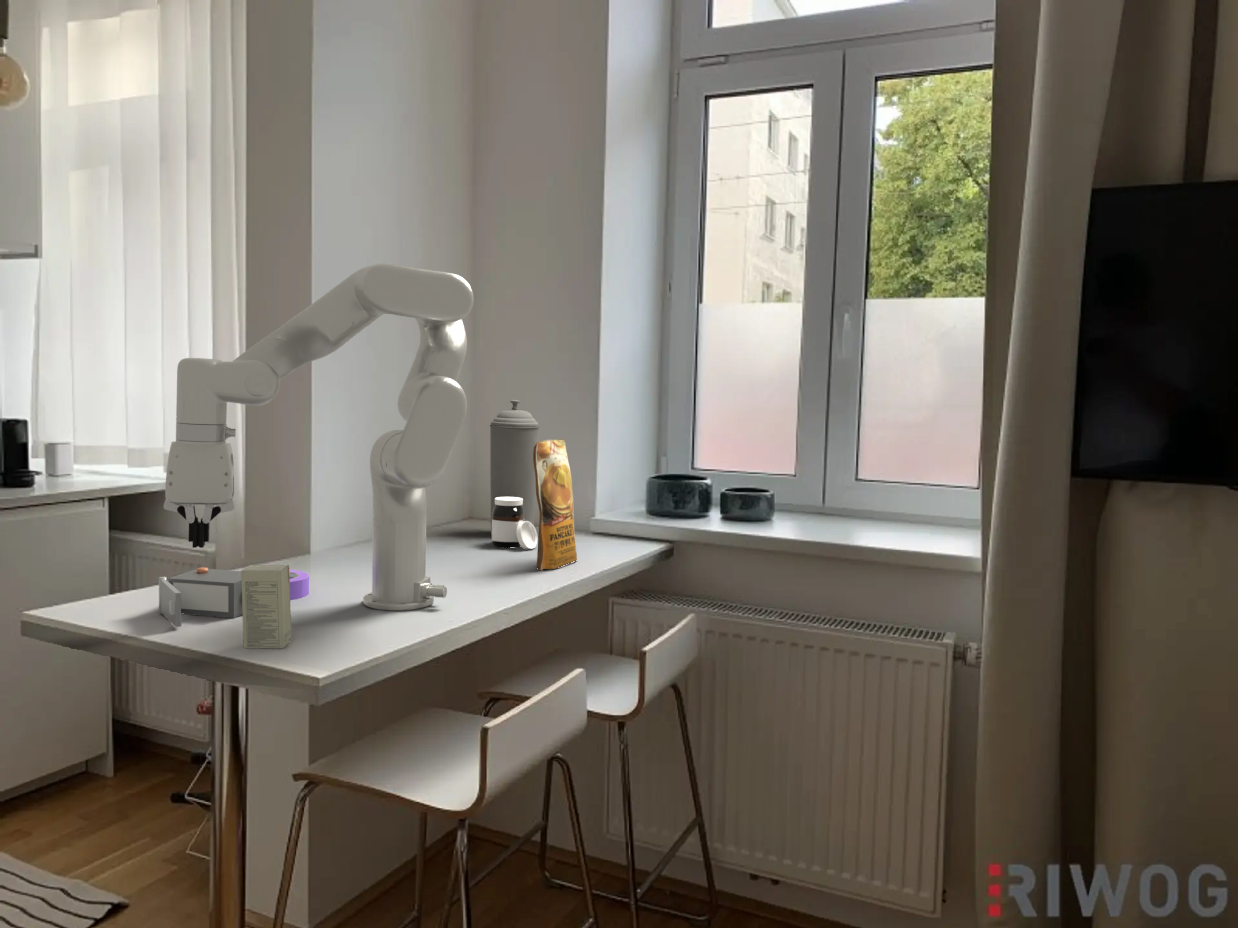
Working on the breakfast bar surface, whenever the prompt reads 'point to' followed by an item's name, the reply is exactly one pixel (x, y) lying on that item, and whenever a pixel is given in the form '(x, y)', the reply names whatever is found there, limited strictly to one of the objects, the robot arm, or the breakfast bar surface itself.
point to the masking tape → (298, 584)
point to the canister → (513, 458)
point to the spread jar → (511, 525)
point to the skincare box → (266, 606)
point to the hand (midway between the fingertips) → (198, 546)
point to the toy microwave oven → (210, 592)
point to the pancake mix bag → (554, 505)
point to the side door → (169, 602)
